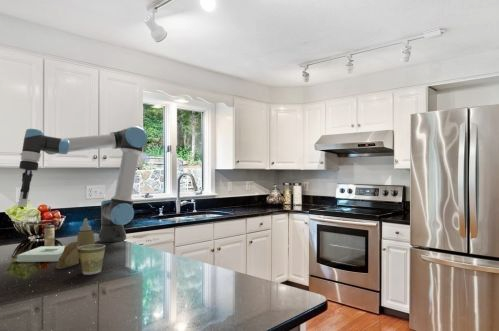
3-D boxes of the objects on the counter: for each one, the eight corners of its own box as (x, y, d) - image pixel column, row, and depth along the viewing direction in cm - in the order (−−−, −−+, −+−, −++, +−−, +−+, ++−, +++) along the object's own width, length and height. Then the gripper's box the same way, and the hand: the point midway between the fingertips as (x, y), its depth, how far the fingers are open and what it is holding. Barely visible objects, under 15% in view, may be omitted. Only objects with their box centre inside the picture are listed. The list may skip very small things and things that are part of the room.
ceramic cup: (95, 276, 136) (95, 249, 136) (71, 275, 138) (71, 249, 138) (114, 267, 149) (114, 242, 149) (93, 266, 151) (92, 242, 151)
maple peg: (56, 248, 188) (55, 224, 188) (51, 249, 184) (51, 226, 184) (47, 248, 188) (47, 225, 188) (42, 250, 184) (42, 226, 184)
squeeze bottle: (98, 256, 169) (98, 217, 169) (89, 260, 161) (89, 219, 161) (82, 255, 170) (82, 217, 170) (72, 260, 162) (72, 219, 162)
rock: (58, 265, 144) (84, 257, 151) (52, 246, 147) (77, 240, 154) (54, 277, 151) (79, 269, 157) (48, 258, 154) (73, 251, 161)
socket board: (77, 252, 178) (77, 245, 178) (58, 261, 160) (58, 254, 160) (40, 252, 178) (40, 246, 178) (17, 261, 160) (17, 255, 160)
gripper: (19, 162, 180) (12, 205, 177) (21, 157, 160) (13, 205, 157) (36, 164, 185) (29, 206, 181) (41, 160, 164) (33, 207, 161)
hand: (22, 206), depth 169 cm, fingers open, 13 cm apart
